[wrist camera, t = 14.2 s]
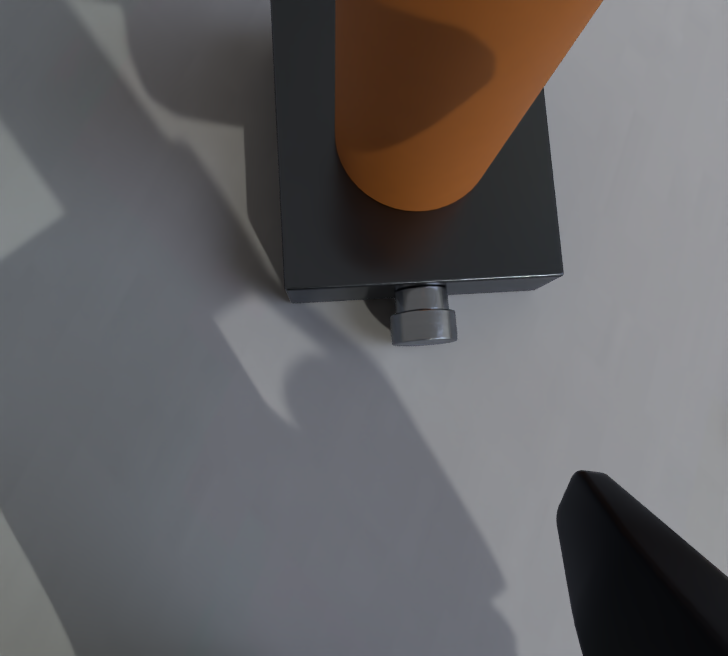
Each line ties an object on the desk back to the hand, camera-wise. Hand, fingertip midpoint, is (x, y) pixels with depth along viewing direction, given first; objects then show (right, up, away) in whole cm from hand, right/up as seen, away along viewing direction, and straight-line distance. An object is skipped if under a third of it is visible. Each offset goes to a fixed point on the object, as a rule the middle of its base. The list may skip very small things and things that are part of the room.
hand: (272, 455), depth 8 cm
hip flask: (+3, +8, +13) cm, 15 cm away
